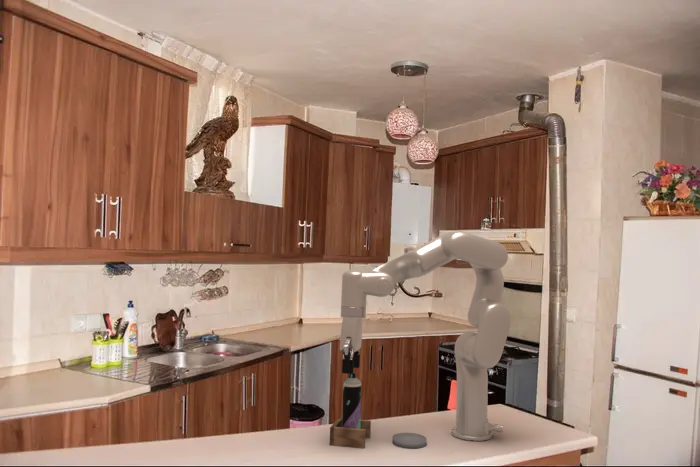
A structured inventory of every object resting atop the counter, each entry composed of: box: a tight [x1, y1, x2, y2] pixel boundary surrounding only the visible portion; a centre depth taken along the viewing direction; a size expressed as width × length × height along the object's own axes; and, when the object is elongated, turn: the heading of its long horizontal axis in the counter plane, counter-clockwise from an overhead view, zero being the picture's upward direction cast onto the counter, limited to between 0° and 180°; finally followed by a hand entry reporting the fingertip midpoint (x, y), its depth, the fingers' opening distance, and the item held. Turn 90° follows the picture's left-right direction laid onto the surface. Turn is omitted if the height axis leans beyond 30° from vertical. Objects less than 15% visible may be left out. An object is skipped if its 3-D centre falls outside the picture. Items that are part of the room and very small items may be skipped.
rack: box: [329, 417, 372, 449], centre depth 166 cm, size 10×10×5 cm
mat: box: [391, 432, 427, 450], centre depth 166 cm, size 10×10×2 cm
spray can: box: [341, 372, 362, 429], centre depth 167 cm, size 6×6×20 cm
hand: (350, 370), depth 167 cm, fingers open, 9 cm apart
